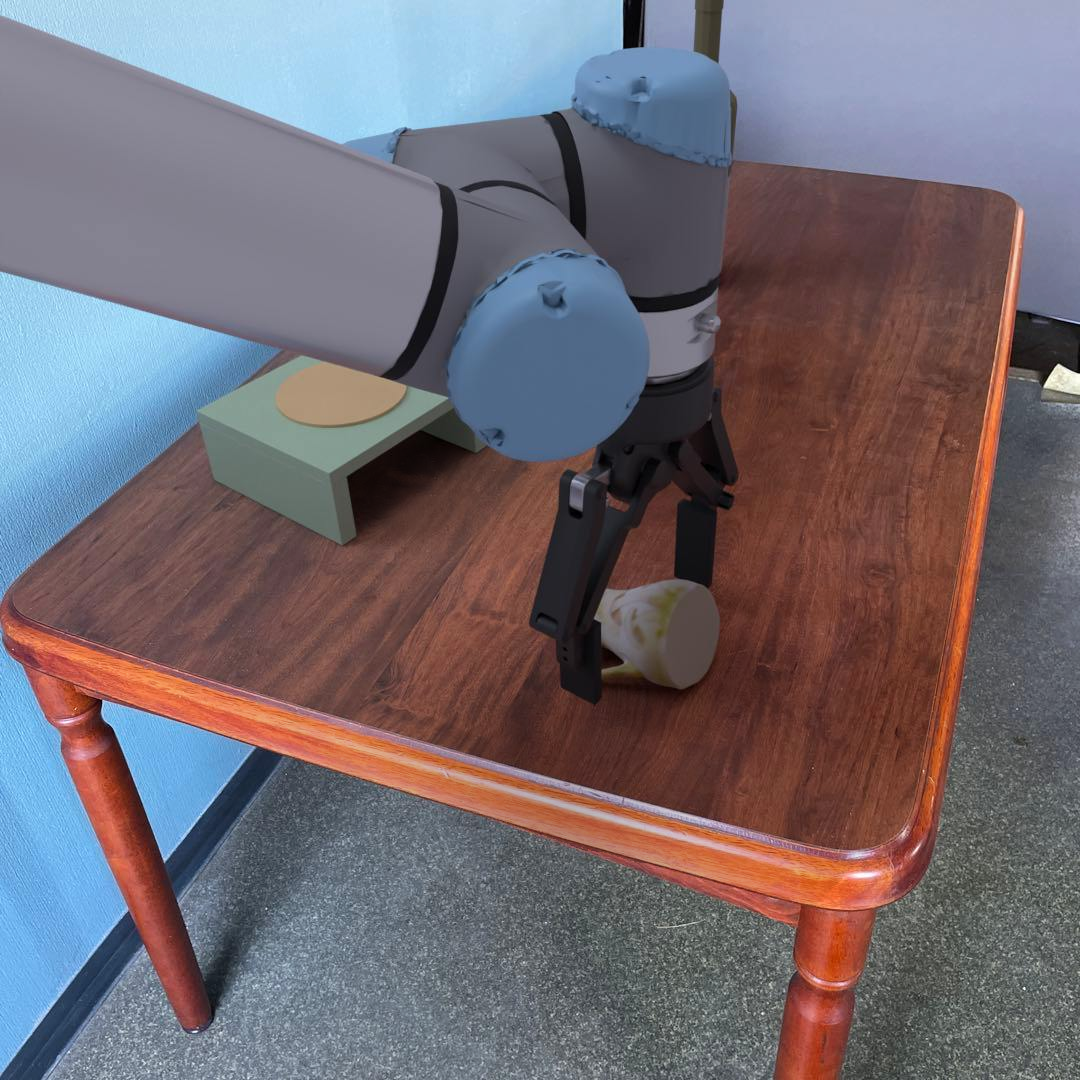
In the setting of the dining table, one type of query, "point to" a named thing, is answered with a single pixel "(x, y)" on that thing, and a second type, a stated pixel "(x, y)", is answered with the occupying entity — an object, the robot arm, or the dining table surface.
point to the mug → (660, 631)
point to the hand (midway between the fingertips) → (640, 634)
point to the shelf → (317, 437)
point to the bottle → (709, 45)
